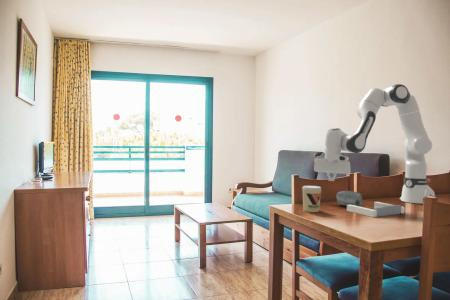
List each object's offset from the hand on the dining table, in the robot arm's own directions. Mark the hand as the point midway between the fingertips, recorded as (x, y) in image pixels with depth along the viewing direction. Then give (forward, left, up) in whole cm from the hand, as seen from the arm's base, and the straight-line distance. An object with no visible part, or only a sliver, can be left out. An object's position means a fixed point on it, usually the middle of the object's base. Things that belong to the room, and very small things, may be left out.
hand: (331, 180), depth 213 cm
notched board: (0, +30, -12) cm, 33 cm away
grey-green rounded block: (0, +13, -13) cm, 18 cm away
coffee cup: (+28, +14, -12) cm, 34 cm away
